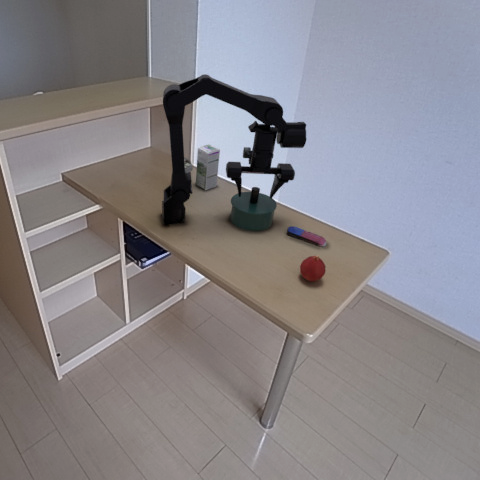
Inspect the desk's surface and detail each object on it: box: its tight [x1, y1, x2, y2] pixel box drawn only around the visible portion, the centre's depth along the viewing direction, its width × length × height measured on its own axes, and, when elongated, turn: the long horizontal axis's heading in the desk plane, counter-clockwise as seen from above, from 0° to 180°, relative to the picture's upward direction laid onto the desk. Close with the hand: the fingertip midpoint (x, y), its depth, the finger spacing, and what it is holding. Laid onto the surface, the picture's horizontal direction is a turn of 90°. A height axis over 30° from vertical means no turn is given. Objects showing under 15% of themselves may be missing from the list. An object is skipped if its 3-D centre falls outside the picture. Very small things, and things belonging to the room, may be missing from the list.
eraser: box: [286, 225, 327, 248], centre depth 107 cm, size 11×4×2 cm, turn 53°
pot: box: [229, 205, 276, 232], centre depth 114 cm, size 13×13×6 cm
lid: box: [230, 186, 278, 215], centre depth 111 cm, size 14×14×6 cm
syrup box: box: [195, 144, 221, 191], centre depth 131 cm, size 6×6×14 cm
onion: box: [299, 255, 326, 282], centre depth 91 cm, size 6×6×8 cm
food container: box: [184, 157, 193, 173], centre depth 130 cm, size 12×6×10 cm, turn 168°
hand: (255, 197), depth 111 cm, fingers open, 9 cm apart
